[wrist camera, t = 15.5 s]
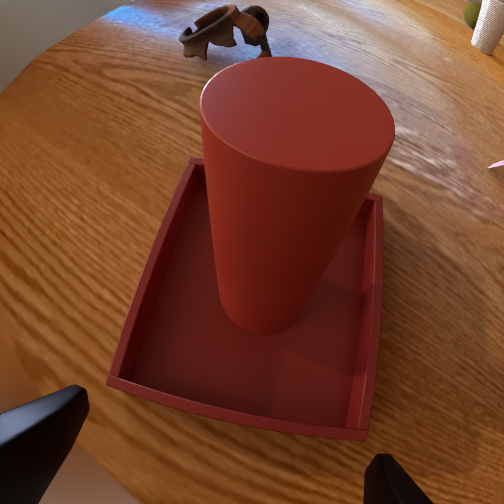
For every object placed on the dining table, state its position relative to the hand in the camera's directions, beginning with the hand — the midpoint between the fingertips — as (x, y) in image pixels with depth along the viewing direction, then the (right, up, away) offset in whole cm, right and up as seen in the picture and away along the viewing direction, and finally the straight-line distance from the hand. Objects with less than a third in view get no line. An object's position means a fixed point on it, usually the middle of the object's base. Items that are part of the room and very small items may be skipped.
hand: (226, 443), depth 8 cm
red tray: (+1, +3, +11) cm, 12 cm away
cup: (+56, +55, +42) cm, 89 cm away
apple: (+70, +75, +54) cm, 116 cm away
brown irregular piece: (-1, +28, +25) cm, 37 cm away
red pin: (+1, +3, +11) cm, 11 cm away
